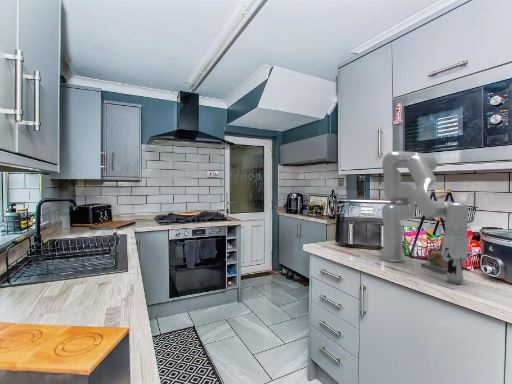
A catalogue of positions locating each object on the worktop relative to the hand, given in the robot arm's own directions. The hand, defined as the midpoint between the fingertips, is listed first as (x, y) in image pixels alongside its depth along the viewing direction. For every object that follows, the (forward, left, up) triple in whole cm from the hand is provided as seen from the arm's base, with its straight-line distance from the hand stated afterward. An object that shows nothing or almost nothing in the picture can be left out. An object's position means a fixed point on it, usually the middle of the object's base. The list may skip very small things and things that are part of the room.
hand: (454, 273), depth 114 cm
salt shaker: (0, 0, -4) cm, 4 cm away
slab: (-15, +12, -4) cm, 20 cm away
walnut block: (-15, +12, -2) cm, 19 cm away
